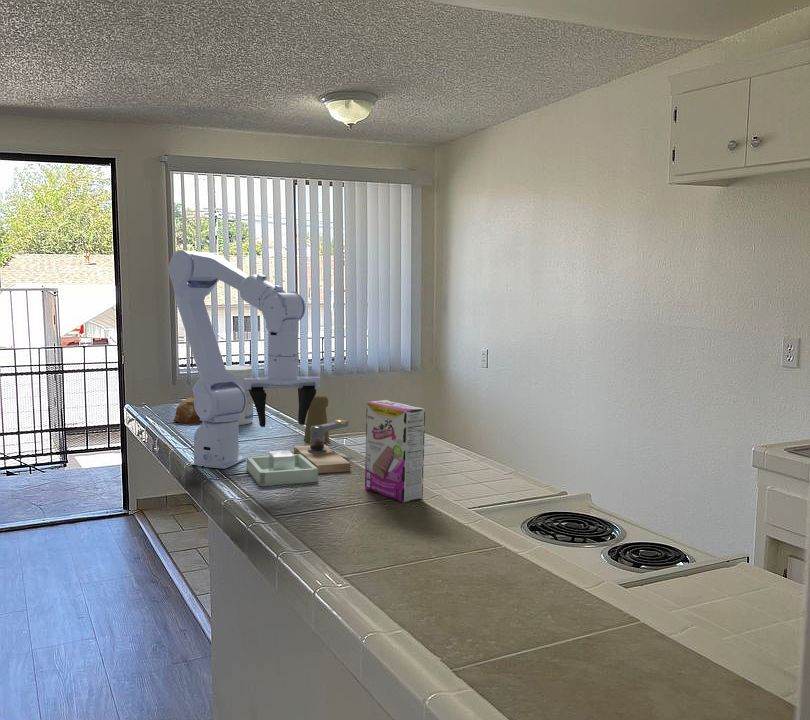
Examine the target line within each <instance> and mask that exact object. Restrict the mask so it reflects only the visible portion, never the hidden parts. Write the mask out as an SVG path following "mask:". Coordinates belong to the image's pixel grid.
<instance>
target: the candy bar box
mask: <svg viewBox="0 0 810 720" xmlns="http://www.w3.org/2000/svg"><path fill="white" fill-rule="evenodd" d="M365 419H366V420H365V424H366V425H365V428H366V429H365V469H364V473H365V474H364V475H365V477H364V489H365V490H368V491H371V492H374V493H376V494H379V495H382V496H384V497H386V498H390V499H392V500H395V501H398V502H400V503H404V504H405V503H410V502H414V501H417V500H422V499H423V497H424V495H423V494H424V493H423V492H424V460H425V458H424V457H425V431H426V429H425V428H426V427H425V425H426V408H423V407H419V406H415V405H410V404H404V403H402V402H401V403H400V402H396V401H393V400H388V399H382V400H381V399H380V400H378V399H377V400H369V401H366V418H365Z"/></svg>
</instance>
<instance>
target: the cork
mask: <svg viewBox="0 0 810 720" xmlns="http://www.w3.org/2000/svg"><path fill="white" fill-rule="evenodd" d="M328 405H329V398H328V397H327V396H326V395H324V394H320V393H316V395H315V396H314V398H313V400H312V402H311V404H310V406H309V409H308V412H307V415H306V422H305V424H306V425H305V431H304V437H303V441H304V442H306V443H310V427H311V426H318V425H322V424H327V423H328V417H327V416H328V414H327V408H328ZM329 434H330V433H329V431H327V432H324V443H328V442H330V435H329Z"/></svg>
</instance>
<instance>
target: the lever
mask: <svg viewBox="0 0 810 720" xmlns="http://www.w3.org/2000/svg"><path fill="white" fill-rule="evenodd" d="M346 427H349V420H344V419H335V420H334V421H332V422H327V424H322V425H318V426H311V427H310V442H309V446H310V449H314V450H321V449H324V445H325V442H324V432H327V431H328V432H330V431H334V430H338V429H343V428H346Z"/></svg>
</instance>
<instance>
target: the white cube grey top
mask: <svg viewBox="0 0 810 720" xmlns="http://www.w3.org/2000/svg"><path fill="white" fill-rule="evenodd" d="M293 454H294V453H292V452H291V451H290V450H273V451H268V456H269V471H281V470H295V456H294V455H293Z"/></svg>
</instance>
